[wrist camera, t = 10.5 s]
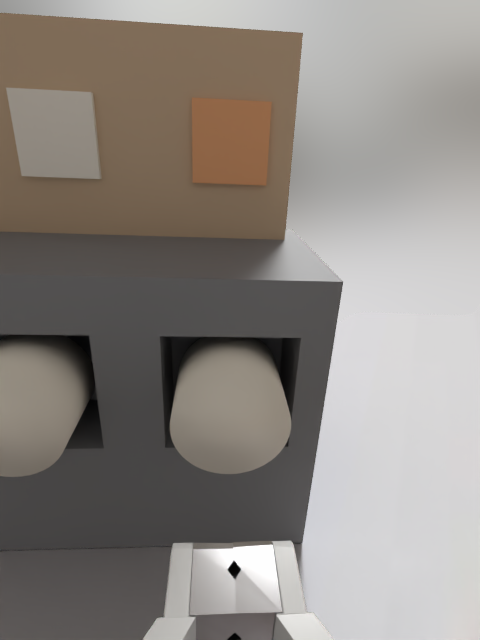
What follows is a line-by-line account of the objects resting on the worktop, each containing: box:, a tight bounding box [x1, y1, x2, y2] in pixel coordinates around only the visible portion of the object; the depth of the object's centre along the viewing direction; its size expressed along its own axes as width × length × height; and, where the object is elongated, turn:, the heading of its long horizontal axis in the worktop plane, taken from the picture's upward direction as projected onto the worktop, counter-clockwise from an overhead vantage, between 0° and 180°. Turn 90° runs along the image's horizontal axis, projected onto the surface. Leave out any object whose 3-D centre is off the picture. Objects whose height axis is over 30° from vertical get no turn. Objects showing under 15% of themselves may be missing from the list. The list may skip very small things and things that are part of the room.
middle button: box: [0, 335, 95, 477], centre depth 15 cm, size 4×4×4 cm
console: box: [0, 13, 343, 550], centre depth 19 cm, size 24×10×23 cm, turn 93°
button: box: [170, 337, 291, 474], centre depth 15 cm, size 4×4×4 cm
